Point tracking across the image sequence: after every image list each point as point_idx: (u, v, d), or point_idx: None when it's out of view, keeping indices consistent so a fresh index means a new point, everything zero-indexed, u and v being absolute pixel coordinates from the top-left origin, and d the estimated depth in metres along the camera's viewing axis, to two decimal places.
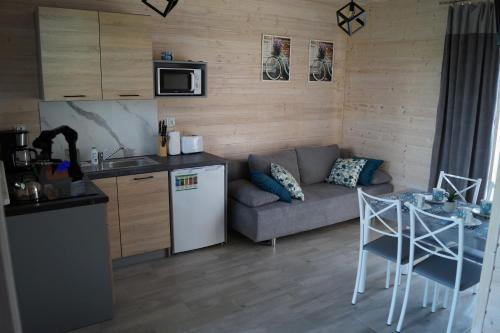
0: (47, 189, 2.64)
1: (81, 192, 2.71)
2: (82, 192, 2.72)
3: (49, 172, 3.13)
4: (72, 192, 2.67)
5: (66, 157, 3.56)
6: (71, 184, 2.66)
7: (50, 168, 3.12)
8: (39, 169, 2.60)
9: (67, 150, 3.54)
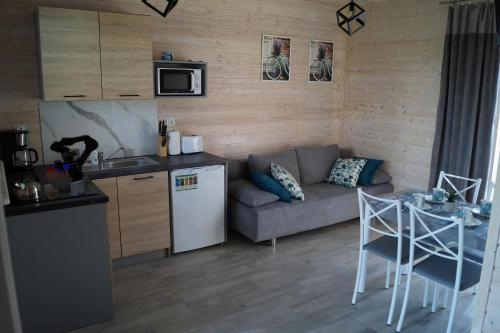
0: (47, 189, 2.64)
1: (81, 192, 2.71)
2: (82, 192, 2.72)
3: (49, 172, 3.12)
4: (72, 192, 2.67)
5: None
6: (71, 184, 2.66)
7: (50, 168, 3.11)
8: None
9: None
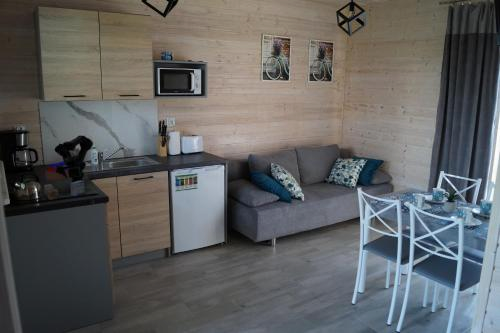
0: (47, 189, 2.64)
1: (81, 192, 2.71)
2: (82, 192, 2.72)
3: (48, 172, 3.12)
4: (72, 192, 2.67)
5: None
6: (71, 184, 2.66)
7: (49, 168, 3.11)
8: None
9: (67, 150, 3.54)
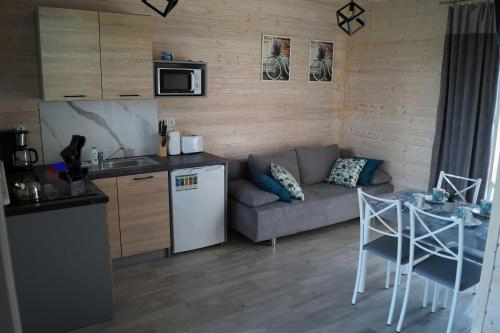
0: (47, 189, 2.64)
1: (81, 192, 2.71)
2: (82, 192, 2.71)
3: (48, 172, 3.12)
4: (72, 192, 2.67)
5: None
6: (71, 184, 2.66)
7: (49, 168, 3.11)
8: None
9: None
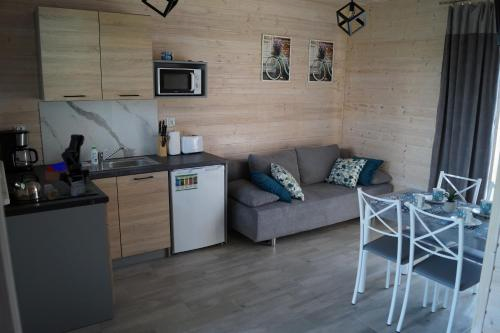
0: (47, 189, 2.64)
1: (81, 192, 2.70)
2: (82, 192, 2.71)
3: (48, 172, 3.11)
4: (72, 192, 2.67)
5: None
6: (71, 184, 2.66)
7: (49, 168, 3.10)
8: None
9: None
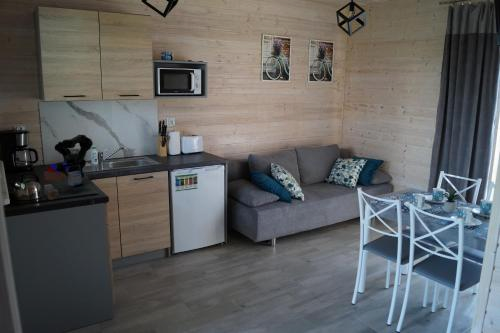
0: (47, 189, 2.64)
1: (78, 182, 2.74)
2: (79, 182, 2.75)
3: (47, 173, 3.11)
4: (69, 182, 2.71)
5: None
6: (68, 174, 2.70)
7: (48, 169, 3.10)
8: None
9: None
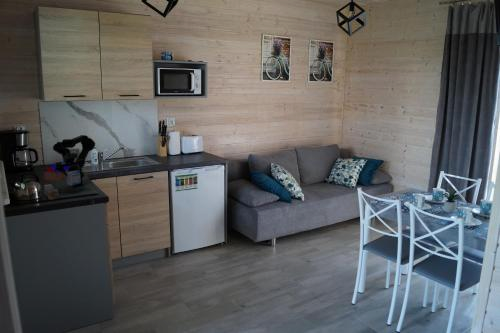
0: (47, 189, 2.64)
1: (77, 182, 2.75)
2: (78, 182, 2.75)
3: (47, 173, 3.10)
4: (68, 182, 2.72)
5: None
6: (67, 174, 2.70)
7: (48, 169, 3.09)
8: None
9: None
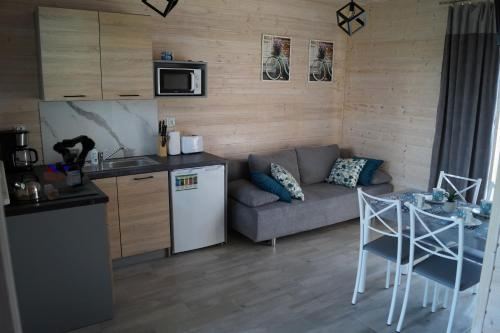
0: (47, 189, 2.64)
1: (77, 182, 2.75)
2: (78, 182, 2.75)
3: (47, 173, 3.10)
4: (68, 182, 2.72)
5: None
6: (67, 174, 2.70)
7: (48, 169, 3.09)
8: None
9: None
